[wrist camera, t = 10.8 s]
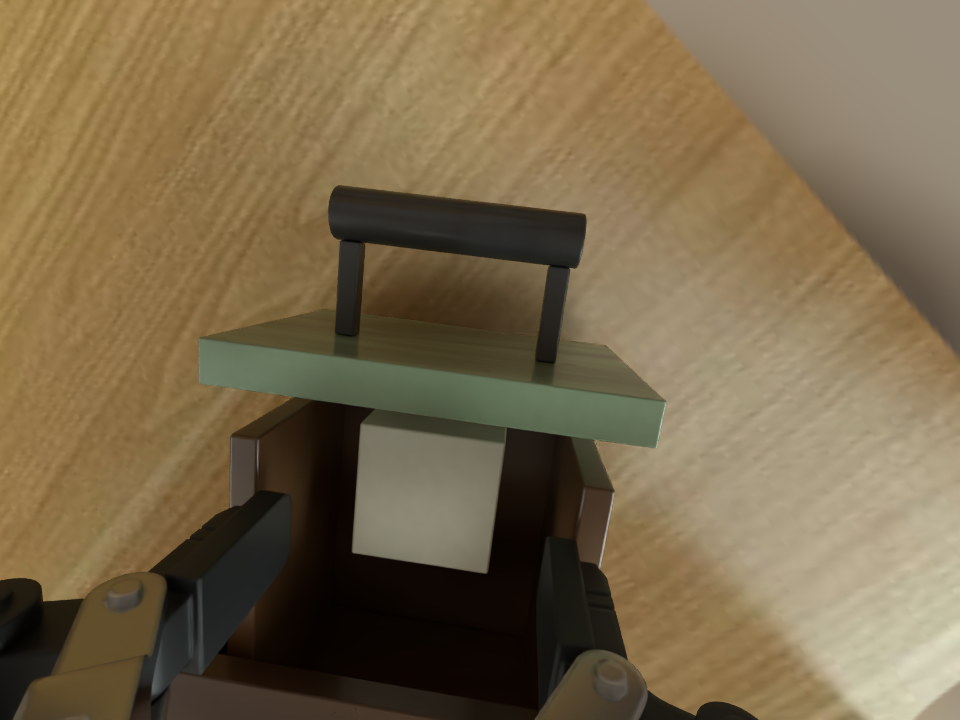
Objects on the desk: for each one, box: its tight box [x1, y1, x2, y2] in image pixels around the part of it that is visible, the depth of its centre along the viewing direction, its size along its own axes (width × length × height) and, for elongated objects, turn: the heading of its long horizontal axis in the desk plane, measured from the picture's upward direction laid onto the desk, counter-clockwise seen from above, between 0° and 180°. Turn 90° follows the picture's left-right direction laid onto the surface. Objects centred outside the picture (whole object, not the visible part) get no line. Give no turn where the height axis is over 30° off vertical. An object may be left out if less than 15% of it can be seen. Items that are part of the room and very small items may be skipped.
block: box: [352, 409, 507, 574], centre depth 17 cm, size 4×4×4 cm
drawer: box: [199, 185, 666, 710], centre depth 16 cm, size 18×11×8 cm, turn 173°
